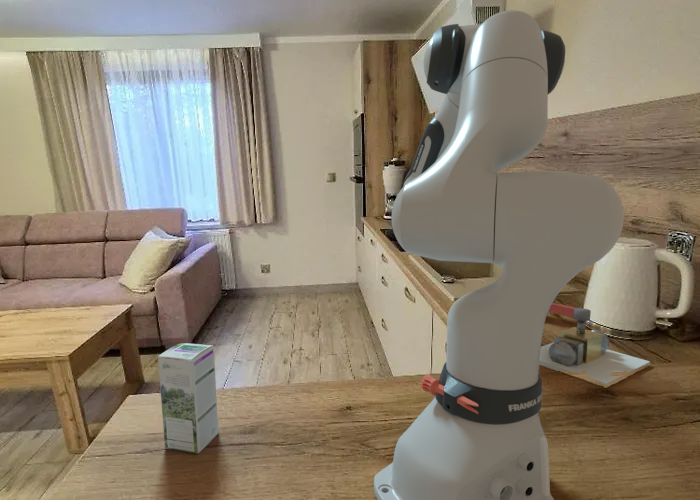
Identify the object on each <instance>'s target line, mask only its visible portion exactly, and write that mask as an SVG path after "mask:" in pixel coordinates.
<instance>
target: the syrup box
mask: <svg viewBox="0 0 700 500" xmlns="http://www.w3.org/2000/svg"><path fill="white" fill-rule="evenodd" d="M215 361H216V360H215V347H214V345H213V344H212V345H211V344H200V343H187V342H186V343H185V342H181V343H178V344H176V345H174V346H171V347H170V348H168V349H167V350H165V351H164V352H162V353H161V354H159V355H157V365H158V376H159V387H160V388H159V389H160V399H161V400H160V401H161V402H160V403H161V410H162V411H161V412H162V425H163V439H164V448H165V450H170V451H171V450H172V451H178V452H183V453H184V452H186V453H189V454H197V455H198V454H199V453H201V452H202V451H203V450H204V449H205V448H206V447H207V446H208V445H209V444H210V443H211V442H212V441H213V440H214V438H216V437H217V435H218V434H219V433H220V432H219V431H220V429H219V419H218V418H219V416H218V404H217V403H218V401H217V385H216V384H217V382H216V381H217V380H216V364H215V363H216V362H215Z"/></svg>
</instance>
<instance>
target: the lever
mask: <svg viewBox="0 0 700 500" xmlns="http://www.w3.org/2000/svg"><path fill="white" fill-rule="evenodd" d="M548 313H551V314H555V315H561V316H564V317H568V318H572V319H574V320H576V321H577V320H581V321H586V322H588V321H591V313H592V311H591V310H590V309H588V308H583V307H574V306H570V305H565V304H560V303H556V302H553V303H552V304H551V306H550V308H549V311H548Z"/></svg>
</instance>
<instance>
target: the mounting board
mask: <svg viewBox="0 0 700 500" xmlns="http://www.w3.org/2000/svg"><path fill="white" fill-rule="evenodd" d="M552 344H554V342H550V343H548V344H545V345H541V349H540V359H539V366H543V367H545V368H547V369H550V370H554V371H556V372H558V371H570V372H575V373H583V372H582V371H586V372H585V374H587V375H588V376H589V377H588V378H591V379H593V380H595V381H598V382H600V383H603V384H605V385H607V384H609V383H610V382H612V381H614V380H616V379H617V378H619V377H621V376H623V375H621V376H610V375H609V373H612V372H624V371H628V372H627V373H629V372H631V371H633V370H635V369H638V368H640V367H643V366H647V365H650V366H651V361H650V360H646V359H642V358H640V357H635V356H632V355H629V354H625V353H622V352H621V353H620V352H618V351H614V350H611V349H609V348H608V349H607V350H606V351H605V354H604V355H602V356H600V358H598V359H596V360H593V361H591V362H589V363H583V362H582V364H581V365H578V366H576V365H570V366H565V365H562V364H559V363H556V362H553V361H552V360H551V358H550V356H549V348H550V346H551V345H552Z"/></svg>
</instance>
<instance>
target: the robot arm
mask: <svg viewBox="0 0 700 500" xmlns="http://www.w3.org/2000/svg"><path fill="white" fill-rule="evenodd" d="M565 63H566V45H565V42H564V41H563V39H562V36H561V35H559V34H556V33H554V32H552V31H550V30H549V31H548V30H544V29H541V28H540V25H539V24H538V22H537V21H536V19H534V17H532V16H531V15H530V14H528V13H526V12H524V11H521V10H513V9H511V10H510V9H509V10H505V11H504V10H503V11H500V12H497V13H495V14H493V15H491V16H490V17H488V18H487V19H485V20H484V21H483V22H482V23H481V24H469V25H468V24H467V25H459V23H454V24H449V25H447V24H446V25H444V26H440V27H439V28H438V29H437V30H436V31H435V32H433V34H432V37H431V39H429V42H428V44H427V46H426V49H425V52H424V57H423V70H424V71H423V72H424V75H425V78H426V84H427V85H428V86H429V88H430V89H431V90H433V91H434V92H437V93H442V94H445V97H444V99H443V102H442V103H441V106H440V107H439V109H438V111H437V112H436V113H435V115H434V116H433V118H432V119H431V120H430V122H429V123H428V124H427V126H426V127H425V129H424V131H423V133H422V137H421V138H420V141H419V144H418V147H417V149H416V152H415V156H414V158H413V161H412V164H411V167H410V169H409V171H408V172H407V174H406V175H405V178H404V180H403V184H402V188H401V189H400V190H399V191H398V194H397V195H396V198H395V200H394V201H393V205H392V209H391V226H392V231H393V234H394V236H395V239H396V240H397V242H398V244H399V245H400V247H401V248H402V249H403V250H404V251H405V252H406V253H408V254H411V255H416V256H418V257H422V258H426V259H431V260H436V261H440V262H460V263H479V264H481V263H484V264H494V265H498V266H500V268H501V273H500V275H499V277H498V278H497V279H496V280H495V281H494V282H492V283H490V284H488V285H486V286H482V287H480V288H478V289H475V290H473V291H472V290H471V292H468V293H465V294H464V295H462V296H460V297H459V298H458V299H456V301H455V302H453V304H452V305H451V307H450V308H449V310H448V313H447V316H446V317H447V318H446V319H447V321H446V358H445V360H446V361H445V362H444V364H443V365H442V370H441V373H440V375H439V378H438V379H435V378H434V376H432V375H431V374H425V375H424V376H423V377H422V378H421V380H420V384H419V385H420V389H421V390H423V391H424V392H426V393H430V395H432V396H435V397H434V398H433V399H432V400H431V402H430V403H429V404H428V405H427V406H426V407H425V408H424V409H423V410H422V412H421V413H420V414H419V415H418V416H417V418H416V419H415V420H414V421H413V422H412V423H411V424H410V425H409V427H408V428H407V429H406V430H405V431H404V432H403V434H401V436H400V437H399V438H398V439H397V441H396V444H395V445H396V446H395V448H394V453H393V460H392V462H391V463H390V464H388V465H387V466H386V467H384V468H383V469H381V470H380V471H379V472H377V473H376V474H375V476H374V477H373V492H374V495H375V497H376V499H377V500H555V499H554V497H553V496H552V494H551V488H550V487H551V485H550V464H549V463H550V461H549V460H550V459H549V457H550V456H549V443H548V440H547V436H546V434H545V432H544V428H543V426H542V423H541V419H540V416H539V412H540V411H541V408H542V400H543V395H544V391H543V390H544V389H543V379H542V376H541V375H540V372H539V371H540V370H539V369H540V365H539V359H540V349H541V347H542V341H543V335H544V334H543V333H544V328H545V323H546V319H547V316H548V313H549V312H548V311H549V308H550V306H551V304H552V303H554V301H555V299H556V298H557V296H558V295H559V293H560V292H561V291H562V289H563V288H564V287H565V286H566V285H567V284H568V283H569V282H570V281H571V280H572V279H574V278H575V276H576V275H578V274H579V273H580V272H582V271H584V270H585V269H586V268H588V267H590V266H592V265H593V264H596V263H597V262H599V261H601V260H602V259H603V258H604V257H605V256H606V255H608V254H609V253H610V252H611V250H612V249H613V248H614V246H615V245H616V243H617V242H618V241H619V238H620V236H621V234H622V232H623V231H622V230H623V226H624V218H625V217H624V215H625V213H624V207H623V203H622V201H621V197H620V196H619V194H618V192H617V191H616V190H615V188H614V187H613V185H612V184H611V183H610V182H609V181H608V180H607V179H606V178H604V177H602V176H597V175H589V174H584V173H578V172H570V171H564V170H543V171H542V170H541V171H515V172H512V171H511V172H510V171H508V172H500V171H502V170H503V169H504V168H507V167H508V166H511V165H512V164H514V163H517V162H519V161H521V160H522V159H524V158H526V157H527V156H528V155H529V154H531V152H533V151H534V149H536V148H537V147H538V146H539V145H540V144H541V142H542V140H543V139H544V137H545V135H546V132H547V130H548V124H549V123H548V117H549V116H548V115H549V114H548V113H549V112H548V107H549V106H548V105H549V103H548V98H549V96H548V95H550V94H552V92H553V91H554V90H555V88H556V86H557V85H558V83H559V80H560V78H561V77H562V74H563V71H564V68H565Z"/></svg>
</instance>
